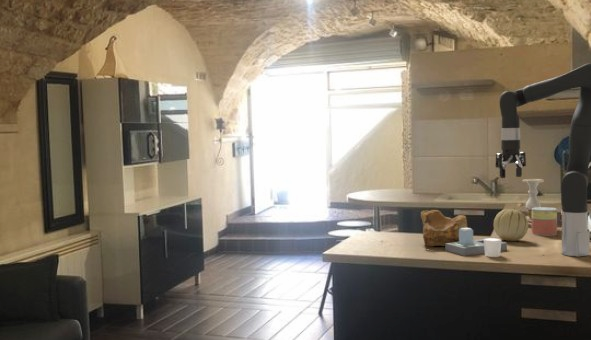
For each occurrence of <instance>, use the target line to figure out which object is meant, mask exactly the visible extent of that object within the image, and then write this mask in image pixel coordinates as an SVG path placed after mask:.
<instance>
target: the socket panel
mask: <svg viewBox="0 0 591 340" xmlns="http://www.w3.org/2000/svg"><path fill="white" fill-rule="evenodd" d="M483 239H484V238H480V239H473V245H469V246H465V245H461V244H459V242H452V243H445V246H444V247H445V249H444V250H445V252H449V253H452V254H457V255H460V256H462V257H464V256H473V255H479V254H485V250H484V240H483ZM507 250H508V242H507V241H506V242H505V241H501V251H500V252H502V251H507Z"/></svg>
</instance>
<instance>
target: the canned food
mask: <svg viewBox="0 0 591 340" xmlns="http://www.w3.org/2000/svg"><path fill="white" fill-rule="evenodd" d="M531 209H532V228H531V235H536V236H541V237H542V236H544V237H547V236H548V237H550V236H552V237H553V236H557V235H558V231H557V230H558V227H557V226H558V209H557V208H555V207H549V206H541V207H534V208H531Z"/></svg>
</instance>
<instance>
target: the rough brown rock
mask: <svg viewBox="0 0 591 340" xmlns="http://www.w3.org/2000/svg"><path fill="white" fill-rule="evenodd" d="M420 218H421V220H422V238H423V242H424V244H423V245H424V247H430V248H431V247H432V248H433V247H435V246H436V247H437V246H442V247H445V243H452V242H459V230H460V228H469V227H468V221H467V220H468V219H467V216H466V215H464V214H458V215H457V216H455V217H452V218H451V217H448V216H445V215H444V214H443V213H442V212H441V211H440V210H437V209H431V210H427V209H426V210H422V211H421V212H420Z"/></svg>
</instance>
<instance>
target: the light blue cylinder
mask: <svg viewBox="0 0 591 340" xmlns="http://www.w3.org/2000/svg"><path fill="white" fill-rule="evenodd" d="M473 240H474V230H473V228H471V227H468V228H460V230H459V244H461V245H465V246H469V245H473Z"/></svg>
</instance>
